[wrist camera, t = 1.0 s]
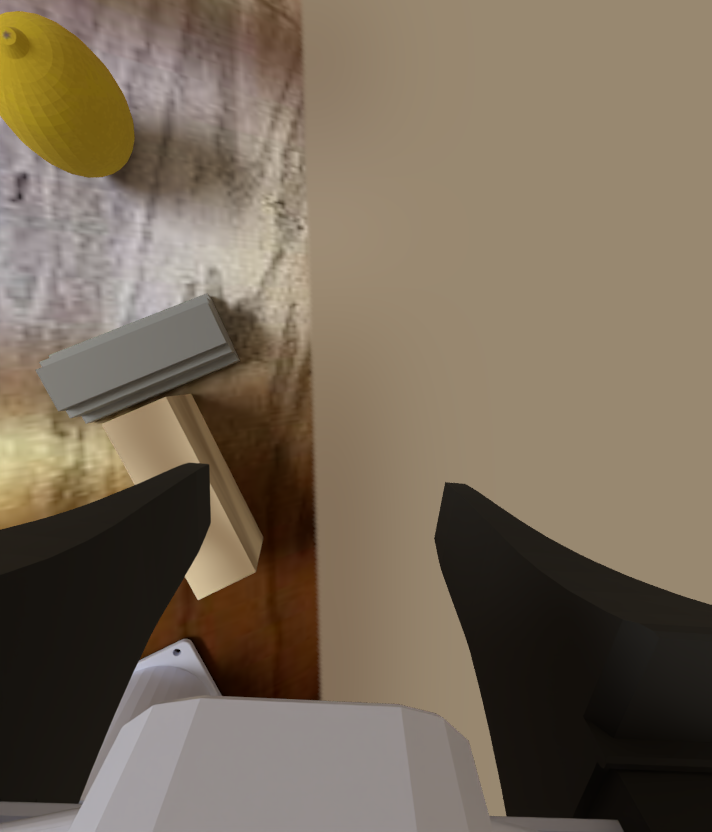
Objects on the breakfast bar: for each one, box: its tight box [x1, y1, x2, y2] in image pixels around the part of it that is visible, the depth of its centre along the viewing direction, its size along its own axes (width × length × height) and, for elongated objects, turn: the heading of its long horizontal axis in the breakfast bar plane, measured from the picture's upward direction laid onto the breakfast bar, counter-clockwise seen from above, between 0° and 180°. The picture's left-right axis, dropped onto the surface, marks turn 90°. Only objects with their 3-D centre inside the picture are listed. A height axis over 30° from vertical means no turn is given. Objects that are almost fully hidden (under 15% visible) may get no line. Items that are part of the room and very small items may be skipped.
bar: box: [102, 394, 263, 600], centre depth 23 cm, size 4×11×5 cm, turn 24°
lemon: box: [0, 11, 135, 177], centre depth 19 cm, size 6×6×8 cm
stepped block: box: [36, 294, 240, 423], centre depth 23 cm, size 10×4×3 cm, turn 113°
